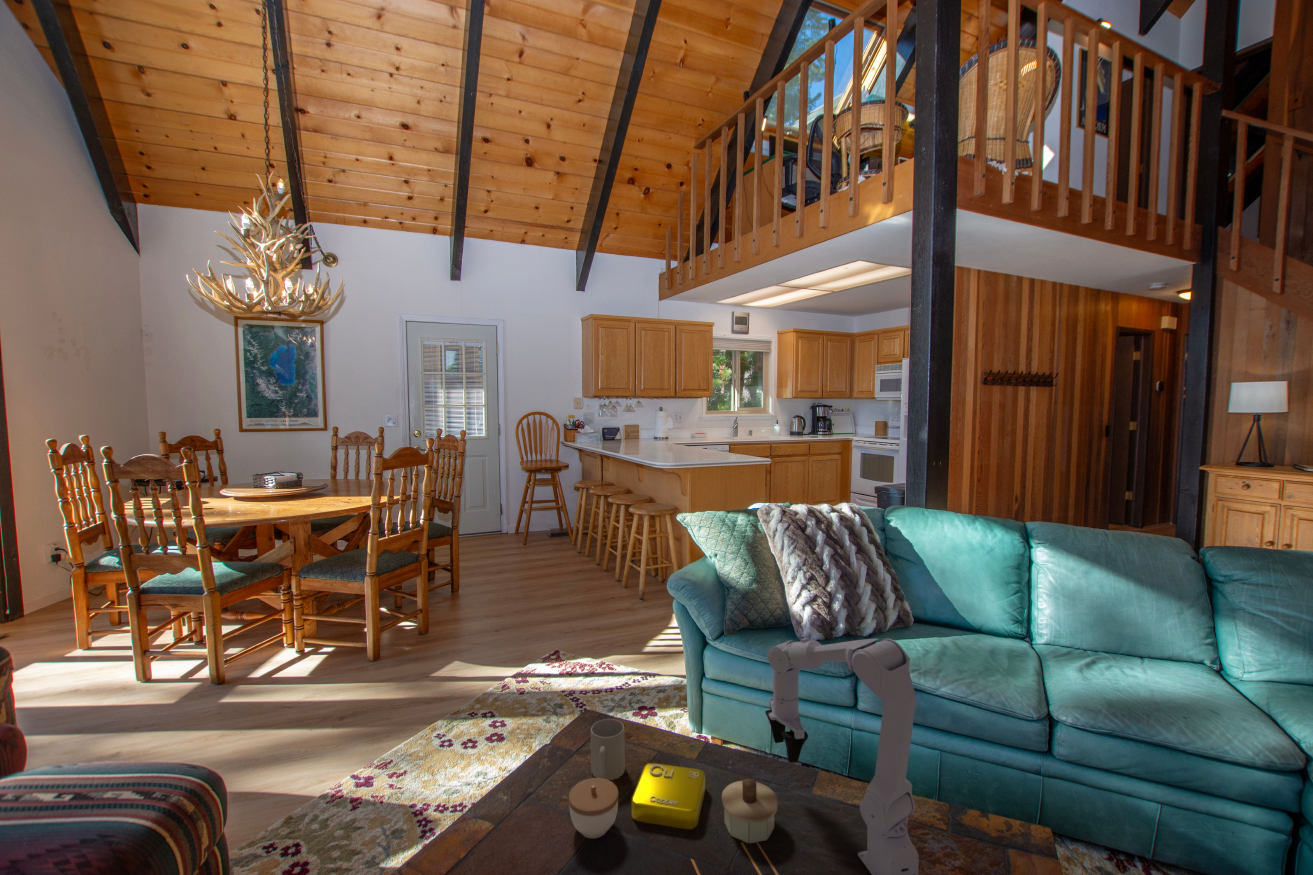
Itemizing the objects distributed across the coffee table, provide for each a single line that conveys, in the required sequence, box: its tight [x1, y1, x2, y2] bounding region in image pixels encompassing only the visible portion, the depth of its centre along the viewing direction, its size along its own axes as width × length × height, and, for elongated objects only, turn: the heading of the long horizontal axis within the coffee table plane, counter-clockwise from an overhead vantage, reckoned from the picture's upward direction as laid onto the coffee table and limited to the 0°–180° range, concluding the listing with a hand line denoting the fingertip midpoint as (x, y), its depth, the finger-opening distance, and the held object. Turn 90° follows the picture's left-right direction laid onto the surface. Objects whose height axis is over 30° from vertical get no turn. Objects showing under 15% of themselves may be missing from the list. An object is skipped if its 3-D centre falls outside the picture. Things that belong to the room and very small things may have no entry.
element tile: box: [631, 762, 706, 830], centre depth 130 cm, size 15×15×5 cm
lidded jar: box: [568, 777, 619, 839], centre depth 122 cm, size 11×11×9 cm
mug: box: [590, 718, 626, 781], centre depth 140 cm, size 12×8×11 cm
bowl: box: [723, 808, 775, 844], centre depth 123 cm, size 10×10×5 cm
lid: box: [721, 778, 779, 823], centre depth 122 cm, size 12×12×4 cm
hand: (785, 751), depth 132 cm, fingers open, 7 cm apart
